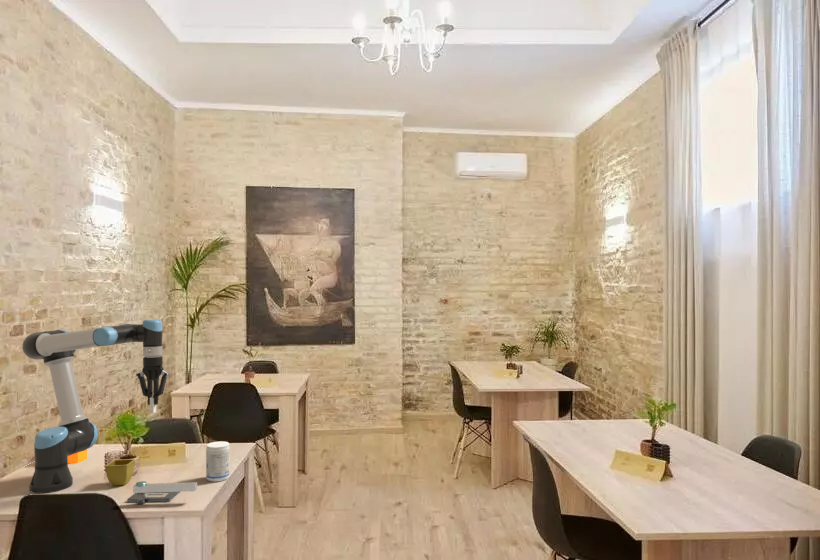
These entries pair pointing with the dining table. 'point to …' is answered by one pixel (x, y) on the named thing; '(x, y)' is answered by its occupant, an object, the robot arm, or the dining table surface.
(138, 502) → the pivot post
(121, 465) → the flower pot
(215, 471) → the supplement tub
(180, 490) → the swing bar
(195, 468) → the dining table surface
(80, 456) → the orange juice
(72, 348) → the robot arm
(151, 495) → the label plate
